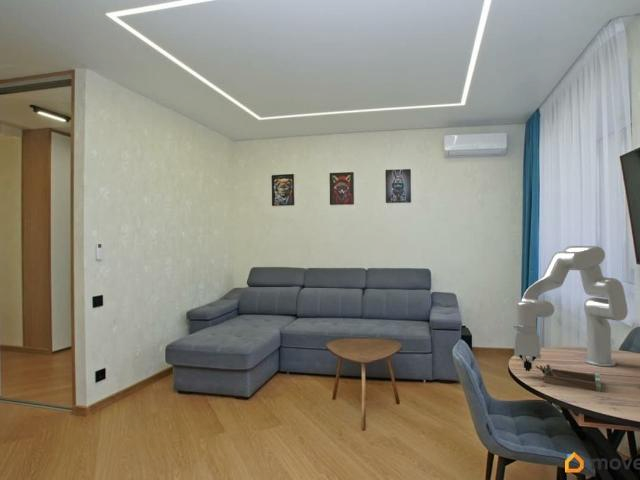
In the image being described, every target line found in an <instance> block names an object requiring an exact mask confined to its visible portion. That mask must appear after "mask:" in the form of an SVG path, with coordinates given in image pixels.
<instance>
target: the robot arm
mask: <svg viewBox="0 0 640 480" xmlns="http://www.w3.org/2000/svg"><path fill="white" fill-rule="evenodd" d="M605 258H606V253H605V250H604V249H603V248H602V247H600V246H597V245H570V246H567V247H565V248H564V250H563V251H562V250H561V251H557V252H555V253H554V254H553V255H552V257H551V259H550V261H549V263H548V264H547V267H546V269H545V271H544V274H543V276H542V277H540V278H539V279H538V280H536V281H534V282H533V284H531V285H530V286H529V287H528V288H527V289H526V291H524V293H523V296H522V298H521V300H520V301H518V302H517V304H516V315H517V316H516V318H517V320H516V322H517V324H516V325H515V324H514V325H513V329H514V330H515V329H516V331H515V334H514V340H513V341H514V343H513V344H514V345H513V346H514V347H513V348H514V354H513V355H514V356H516V357H518V358H520V359H521V360H522V361H523V369H525V371H526V372H530V371H531V370H532V368H533V365H532V363H533V362H534V361H535V360H540V359H542V354H541V342H540V335H539V333H538V332H537V318H543V319H545V318H550V317H551V316H553V315H554V313H555V306H554V305H553V304H552V303H551V302H550V301H548V300H542V299H538V298H539V297H540V296H541V295H543V294H544V293H546V292H549V291H552V290H555V289H559V288H561V287H562V286H563V284H564V282H565V279H566V278H567V276H568V273H569V271H579V273H580V276H581V277H580V278H581V282H582V287H583V291H584V293H585V294H586V295H588V296H591V297H589V298H587V299H586V300H585V301H584V303H583V310H584V314H585V318H586V338H587V339H586V340H587V341H586V345H587V346H586V347H587V348H586V349H587V351H586V352H587V356H585V357H584V358H583V361H584V363H587V364H589V365H593V366H597V367H614V366H616V361H615V360H613V359H612V327H611V324H610V322H609V320H612V321H618V322H619V321H624V320H626V319H627V316H628V312H629V310H628V305H627V300H626V295H625V294H626V293H625V289H624V286H623V284H622V282H621V281H620V280H619V279H617V278H614V277H605V276H604V275H603V272H602V269H601V265H600V264H602V263H603V262H604V260H605ZM527 357H528V358H527Z"/></svg>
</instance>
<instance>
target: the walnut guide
mask: <svg viewBox="0 0 640 480" xmlns="http://www.w3.org/2000/svg"><path fill="white" fill-rule="evenodd" d="M545 369H547V367H545ZM552 372H553V373H555V374H556V375H557V376H558V377H556V376H549V375H544V374H543V378H544V379H543V381H544V383H545V384H549V385H556V386H563V387H568V388H569V387H570V388H576V389H581V390H588V391H595V392H602V385H601V384H602V383H601V376H600V372H596V371H595V372H594V373H588V372H587V373H586V372H581V371H572V370H565V369H558V368H552Z"/></svg>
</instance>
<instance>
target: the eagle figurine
mask: <svg viewBox="0 0 640 480" xmlns="http://www.w3.org/2000/svg"><path fill="white" fill-rule="evenodd" d="M546 364H547V365H546V366H545V365H544V367H543V366H542V365H540V366H538V365H535V367H536V368H537V369H538V370H539V371H541V372H542V374H543V376H544V375H549V376H556V377H558V376H557V375H556V374H555V373H553V372H552V369H553V368H552V366H551V365H550V364H548V363H546ZM546 368H547V369H546ZM543 380H544V377H543Z"/></svg>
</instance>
